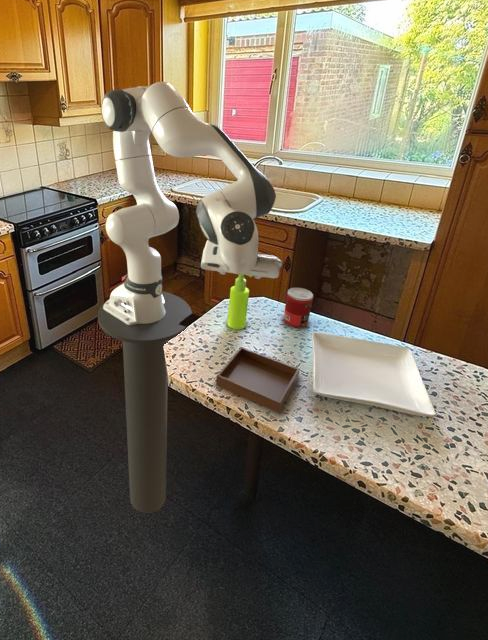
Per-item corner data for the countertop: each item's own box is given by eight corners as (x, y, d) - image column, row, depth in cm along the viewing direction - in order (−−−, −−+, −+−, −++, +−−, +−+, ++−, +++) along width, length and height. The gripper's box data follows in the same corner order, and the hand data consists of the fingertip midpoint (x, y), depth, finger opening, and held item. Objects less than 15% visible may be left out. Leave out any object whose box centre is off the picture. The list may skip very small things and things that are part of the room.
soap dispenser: (243, 332, 128) (249, 277, 119) (224, 325, 131) (228, 271, 123) (251, 324, 132) (257, 270, 123) (232, 317, 136) (237, 264, 127)
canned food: (305, 330, 129) (310, 301, 124) (280, 323, 132) (285, 295, 127) (309, 319, 135) (315, 291, 130) (286, 313, 138) (290, 285, 133)
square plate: (309, 340, 124) (311, 330, 122) (407, 357, 117) (411, 346, 115) (310, 401, 101) (313, 389, 99) (433, 427, 93) (438, 415, 92)
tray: (215, 385, 106) (216, 375, 105) (239, 355, 117) (240, 346, 116) (278, 413, 97) (280, 403, 96) (298, 378, 108) (300, 369, 107)
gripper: (284, 248, 95) (280, 268, 108) (200, 239, 101) (206, 259, 113) (281, 272, 94) (277, 289, 106) (196, 262, 99) (202, 279, 112)
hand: (240, 273), depth 110 cm, fingers open, 8 cm apart
